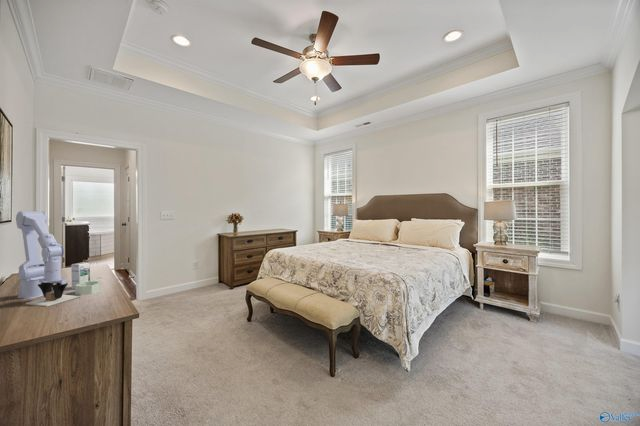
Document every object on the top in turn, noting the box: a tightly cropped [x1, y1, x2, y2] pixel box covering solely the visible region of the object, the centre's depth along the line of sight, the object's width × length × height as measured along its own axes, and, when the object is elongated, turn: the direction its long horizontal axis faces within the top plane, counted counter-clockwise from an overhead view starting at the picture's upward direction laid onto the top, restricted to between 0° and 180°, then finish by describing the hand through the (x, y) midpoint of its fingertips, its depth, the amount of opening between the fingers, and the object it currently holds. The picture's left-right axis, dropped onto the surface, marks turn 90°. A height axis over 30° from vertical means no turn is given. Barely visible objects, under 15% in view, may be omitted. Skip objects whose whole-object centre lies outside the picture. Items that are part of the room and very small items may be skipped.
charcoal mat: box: [23, 296, 81, 308], centre depth 128 cm, size 16×14×1 cm
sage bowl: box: [74, 280, 102, 296], centre depth 141 cm, size 10×10×5 cm
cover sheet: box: [25, 290, 79, 307], centre depth 128 cm, size 13×13×4 cm
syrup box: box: [70, 261, 91, 290], centre depth 148 cm, size 6×6×14 cm
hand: (52, 297), depth 128 cm, fingers open, 6 cm apart
